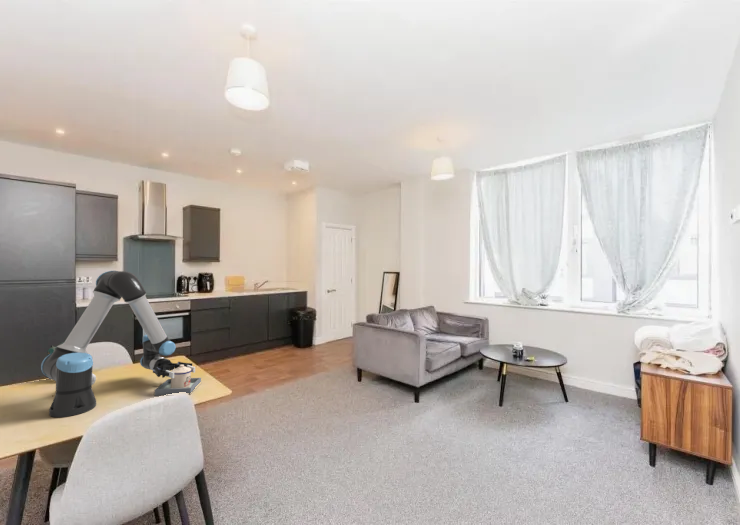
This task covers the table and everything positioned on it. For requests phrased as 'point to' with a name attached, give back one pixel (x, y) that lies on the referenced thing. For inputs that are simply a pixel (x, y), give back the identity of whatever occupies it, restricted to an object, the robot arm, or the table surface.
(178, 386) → the teacup with lid
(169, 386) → the tray
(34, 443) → the table surface
